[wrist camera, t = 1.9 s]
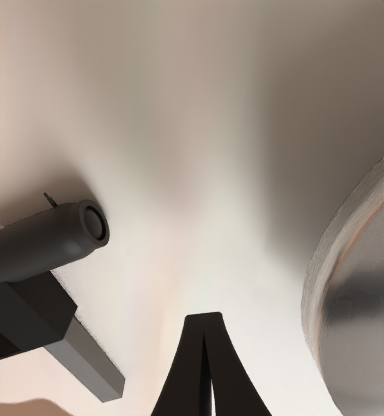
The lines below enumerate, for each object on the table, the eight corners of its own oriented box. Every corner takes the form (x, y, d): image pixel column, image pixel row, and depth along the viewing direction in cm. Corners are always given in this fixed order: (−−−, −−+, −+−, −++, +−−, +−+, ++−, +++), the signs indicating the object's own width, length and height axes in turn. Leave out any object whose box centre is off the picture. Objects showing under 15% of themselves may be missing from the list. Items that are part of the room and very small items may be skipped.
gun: (195, 389, 18) (53, 190, 11) (-38, 450, 21) (-268, 325, 14) (194, 345, 21) (80, 165, 14) (-11, 404, 24) (-189, 280, 17)
